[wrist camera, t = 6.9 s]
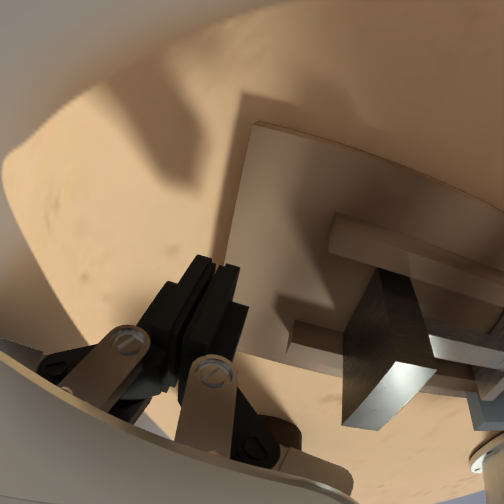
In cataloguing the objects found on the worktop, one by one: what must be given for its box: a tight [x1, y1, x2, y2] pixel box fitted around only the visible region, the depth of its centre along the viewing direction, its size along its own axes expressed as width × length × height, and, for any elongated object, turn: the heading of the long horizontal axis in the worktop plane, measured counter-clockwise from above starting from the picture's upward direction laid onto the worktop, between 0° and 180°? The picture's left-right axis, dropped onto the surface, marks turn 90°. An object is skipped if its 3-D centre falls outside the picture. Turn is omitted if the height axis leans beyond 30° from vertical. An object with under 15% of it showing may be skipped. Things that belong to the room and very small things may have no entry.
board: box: [224, 121, 504, 398], centre depth 13 cm, size 24×12×3 cm, turn 79°
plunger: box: [341, 267, 504, 431], centre depth 11 cm, size 10×4×6 cm, turn 79°
